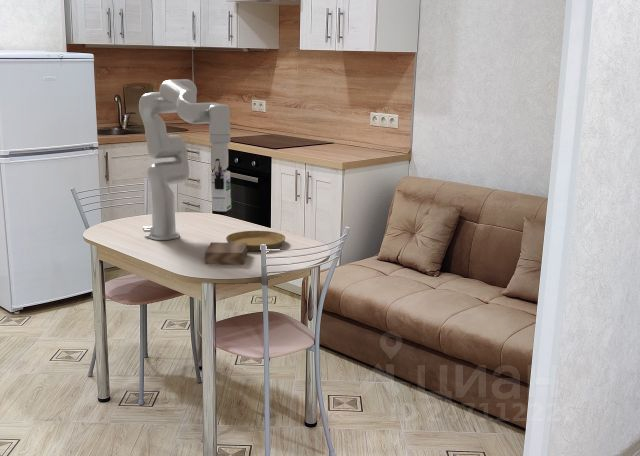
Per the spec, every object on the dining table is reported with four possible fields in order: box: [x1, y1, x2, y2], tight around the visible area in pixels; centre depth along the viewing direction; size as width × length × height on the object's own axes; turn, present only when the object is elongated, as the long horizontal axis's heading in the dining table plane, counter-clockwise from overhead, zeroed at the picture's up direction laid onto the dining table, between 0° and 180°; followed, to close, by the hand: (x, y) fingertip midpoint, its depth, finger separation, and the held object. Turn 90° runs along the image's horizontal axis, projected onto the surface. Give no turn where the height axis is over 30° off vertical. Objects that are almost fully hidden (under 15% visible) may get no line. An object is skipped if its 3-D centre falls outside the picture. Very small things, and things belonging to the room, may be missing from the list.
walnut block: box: [204, 242, 248, 266], centre depth 272 cm, size 14×14×5 cm
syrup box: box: [210, 170, 233, 212], centre depth 266 cm, size 6×6×14 cm
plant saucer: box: [225, 230, 286, 252], centre depth 293 cm, size 24×24×3 cm
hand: (221, 186), depth 266 cm, fingers closed on syrup box, 6 cm apart
